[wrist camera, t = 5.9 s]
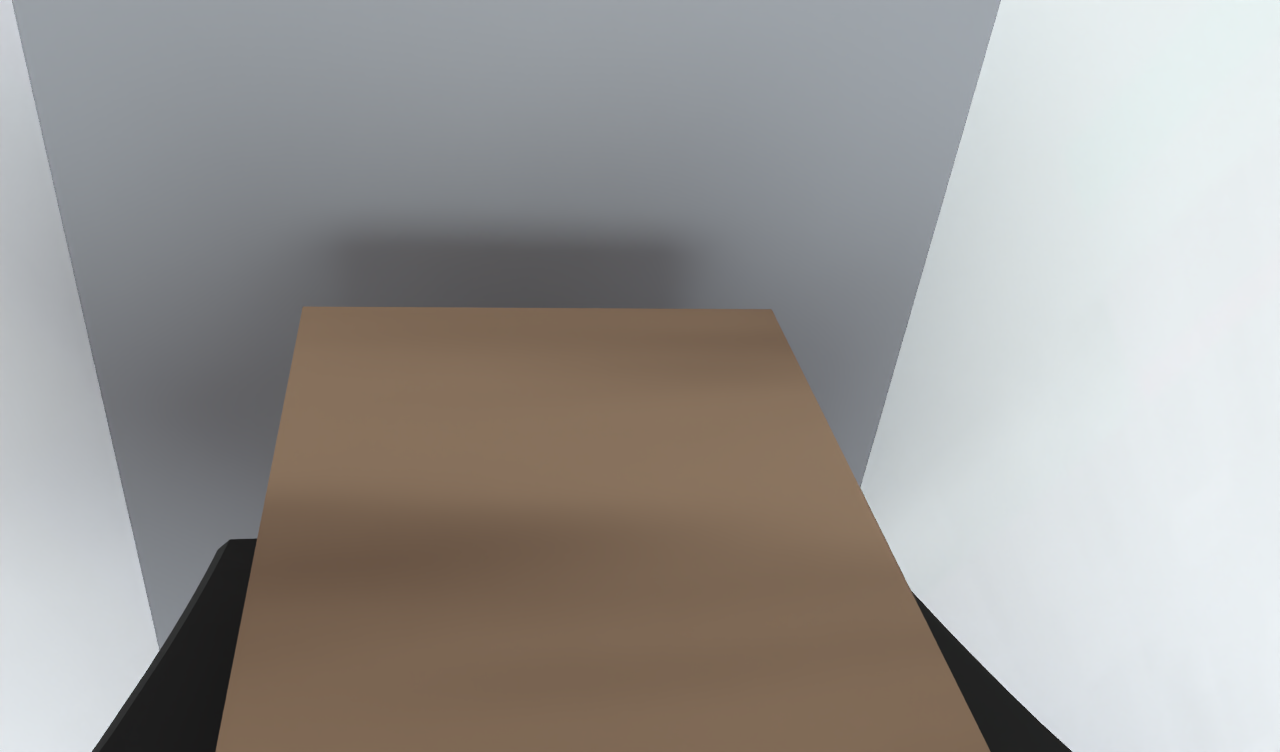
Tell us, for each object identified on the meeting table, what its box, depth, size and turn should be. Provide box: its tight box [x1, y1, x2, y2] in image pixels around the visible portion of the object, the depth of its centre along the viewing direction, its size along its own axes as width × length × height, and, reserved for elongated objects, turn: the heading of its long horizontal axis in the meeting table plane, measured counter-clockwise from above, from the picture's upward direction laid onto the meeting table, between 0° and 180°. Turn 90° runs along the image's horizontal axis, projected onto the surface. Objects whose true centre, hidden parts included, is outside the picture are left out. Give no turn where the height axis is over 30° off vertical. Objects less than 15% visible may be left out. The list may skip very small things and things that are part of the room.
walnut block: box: [216, 307, 990, 752], centre depth 9 cm, size 4×4×6 cm
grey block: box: [12, 0, 1001, 650], centre depth 15 cm, size 10×10×3 cm
